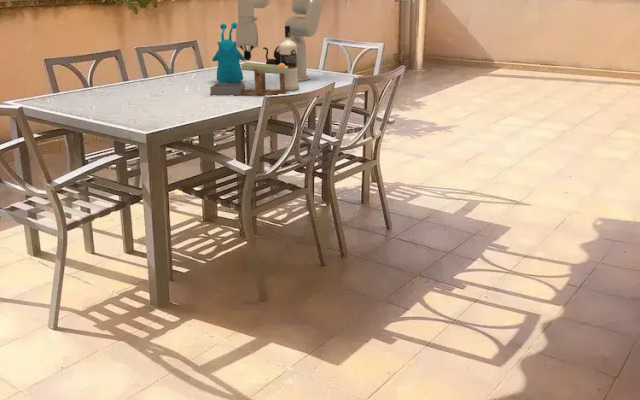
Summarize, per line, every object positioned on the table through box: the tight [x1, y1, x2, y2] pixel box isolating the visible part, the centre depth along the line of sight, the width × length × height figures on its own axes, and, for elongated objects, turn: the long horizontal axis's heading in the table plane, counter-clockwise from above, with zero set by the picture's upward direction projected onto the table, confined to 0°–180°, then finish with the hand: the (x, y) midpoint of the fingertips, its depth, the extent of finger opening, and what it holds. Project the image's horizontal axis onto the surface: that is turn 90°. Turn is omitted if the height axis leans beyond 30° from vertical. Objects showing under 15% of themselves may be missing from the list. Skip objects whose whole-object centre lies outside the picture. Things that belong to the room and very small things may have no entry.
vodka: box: [278, 25, 300, 92], centre depth 327 cm, size 9×9×30 cm
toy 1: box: [211, 21, 246, 83], centre depth 351 cm, size 17×18×30 cm
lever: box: [241, 61, 288, 75], centre depth 324 cm, size 22×16×4 cm
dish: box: [210, 82, 246, 97], centre depth 324 cm, size 10×14×4 cm
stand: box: [241, 68, 288, 97], centre depth 321 cm, size 20×11×12 cm, turn 84°
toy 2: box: [262, 45, 280, 74], centre depth 378 cm, size 8×14×15 cm, turn 69°
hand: (247, 59), depth 328 cm, fingers closed
